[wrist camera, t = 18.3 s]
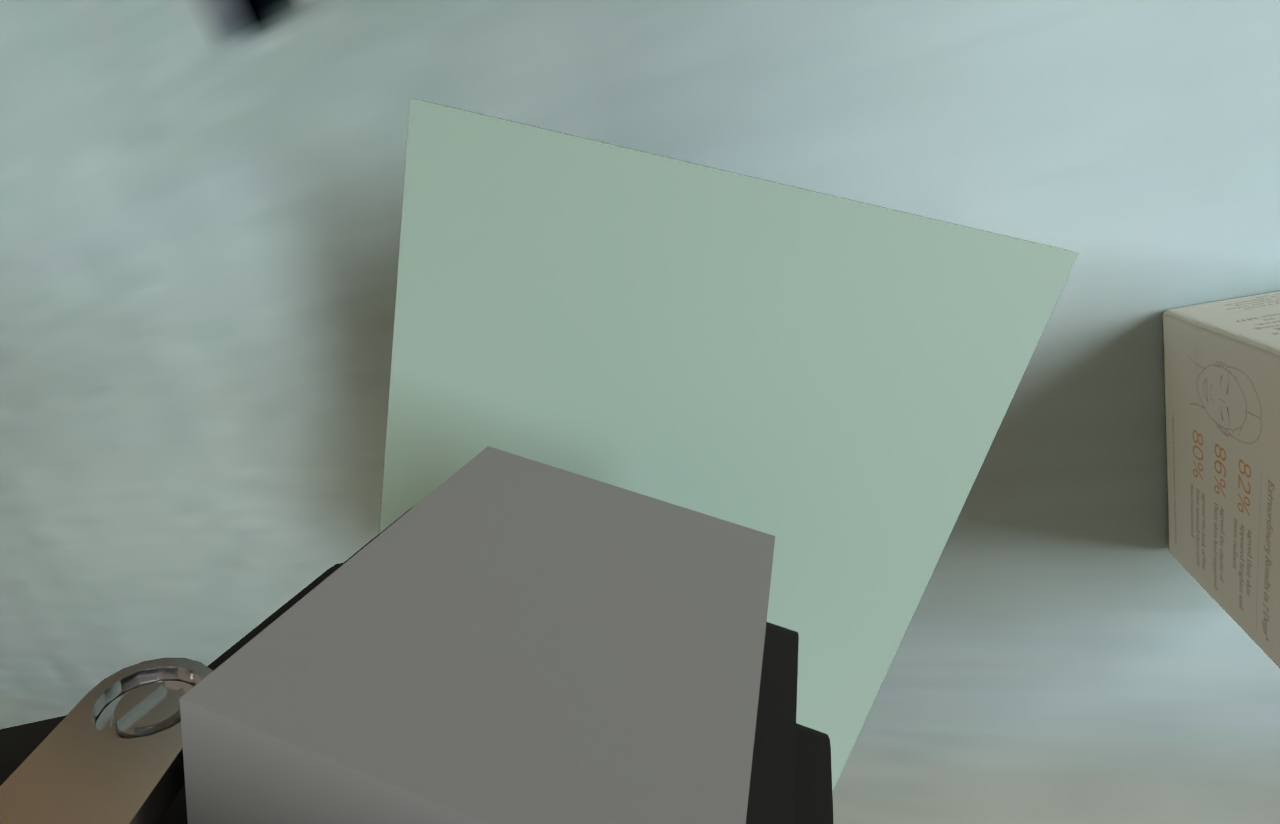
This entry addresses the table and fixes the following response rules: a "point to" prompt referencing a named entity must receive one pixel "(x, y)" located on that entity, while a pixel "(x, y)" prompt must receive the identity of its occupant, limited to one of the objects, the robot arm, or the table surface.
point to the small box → (1227, 455)
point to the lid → (713, 362)
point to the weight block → (500, 668)
